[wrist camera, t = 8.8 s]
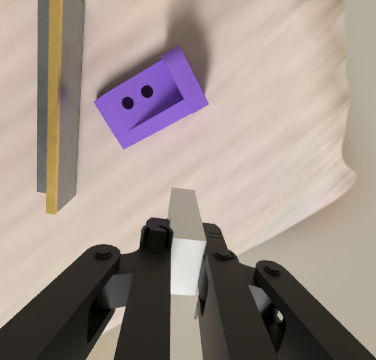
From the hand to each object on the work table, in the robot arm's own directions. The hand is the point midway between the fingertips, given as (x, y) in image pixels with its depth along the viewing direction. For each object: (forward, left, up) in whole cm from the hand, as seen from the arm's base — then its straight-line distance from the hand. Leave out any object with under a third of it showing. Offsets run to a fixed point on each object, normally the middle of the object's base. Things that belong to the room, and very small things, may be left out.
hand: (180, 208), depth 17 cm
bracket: (-5, +6, -20) cm, 22 cm away
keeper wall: (-14, +4, -20) cm, 24 cm away
